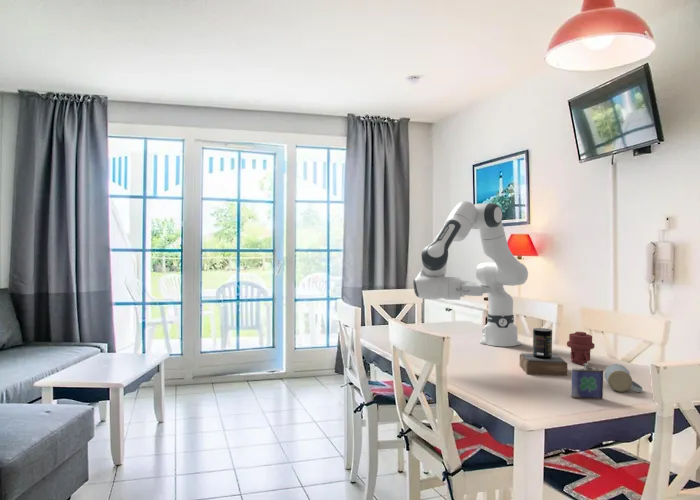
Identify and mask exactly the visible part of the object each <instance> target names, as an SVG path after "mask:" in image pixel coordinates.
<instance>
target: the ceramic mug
mask: <svg viewBox="0 0 700 500" xmlns="http://www.w3.org/2000/svg"><path fill="white" fill-rule="evenodd" d="M603 377H604V380H605V382H607V385H608V386H609V388H611V389H612V390H613V391H615V392H618V393H625V392H627V391H629V390H631V391H634V392H637V393H641V392H642V391H643V387H642V386H641V385H640V384H638V383H637V382H635V381H634V380H633V378H632V376H631V373H630V371H629V369H628V368H627V367H626V366H625V365H622V364H621V363H620V364H619V363H611V364H610V365H607V367H606V368H605V370H604V371H603Z"/></svg>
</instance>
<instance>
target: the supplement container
mask: <svg viewBox="0 0 700 500" xmlns="http://www.w3.org/2000/svg"><path fill="white" fill-rule="evenodd" d="M532 354H533V356H534V357H535V358H539V359H550V358H551V357H552V354H553V330H552V329H551V328H546V327H542V328H541V327H534V328H533V329H532Z"/></svg>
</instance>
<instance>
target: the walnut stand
mask: <svg viewBox="0 0 700 500" xmlns="http://www.w3.org/2000/svg"><path fill="white" fill-rule="evenodd" d="M519 367H520V368H521V370H523V371H524V372H525V373H526V375H536V376H537V375H539V376H542V375H543V376H566V377H568V363H567V361H565V359H563V358H562V357H561V356H559V355H558V354H557V353H556V354H555V353H552V357H551V358H550V359H539V358H535V357H534V356H533V353H531V352H530V353H527V352H525V353H523V352H521V353H520V354H519Z"/></svg>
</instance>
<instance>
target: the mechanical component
mask: <svg viewBox="0 0 700 500" xmlns="http://www.w3.org/2000/svg"><path fill="white" fill-rule="evenodd" d="M568 335H569V336H568V337H569V338H568V339H569V340H568V341H566V347H568V348H569V349H570V359H571V363H574V364H577V365H580V366H585V364H584V363H589V361H590V360H591V350H593V349H595V347H596V346H595V343H593V335H591V334H587V332H584V331H575V332H573V333H569V334H568Z"/></svg>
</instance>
